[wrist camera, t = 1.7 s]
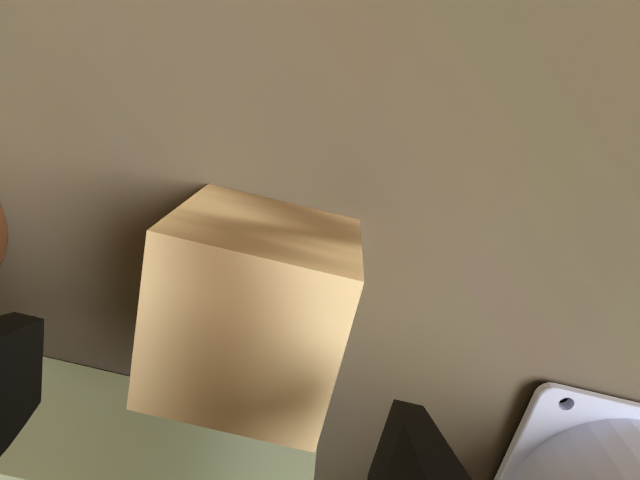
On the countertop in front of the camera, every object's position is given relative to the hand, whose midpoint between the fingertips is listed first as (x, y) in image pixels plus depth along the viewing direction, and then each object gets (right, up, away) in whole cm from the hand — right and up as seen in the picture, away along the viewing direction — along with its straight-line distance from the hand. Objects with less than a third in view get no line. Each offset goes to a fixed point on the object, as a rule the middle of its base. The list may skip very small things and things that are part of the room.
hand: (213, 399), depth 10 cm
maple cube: (+1, +2, +6) cm, 7 cm away
